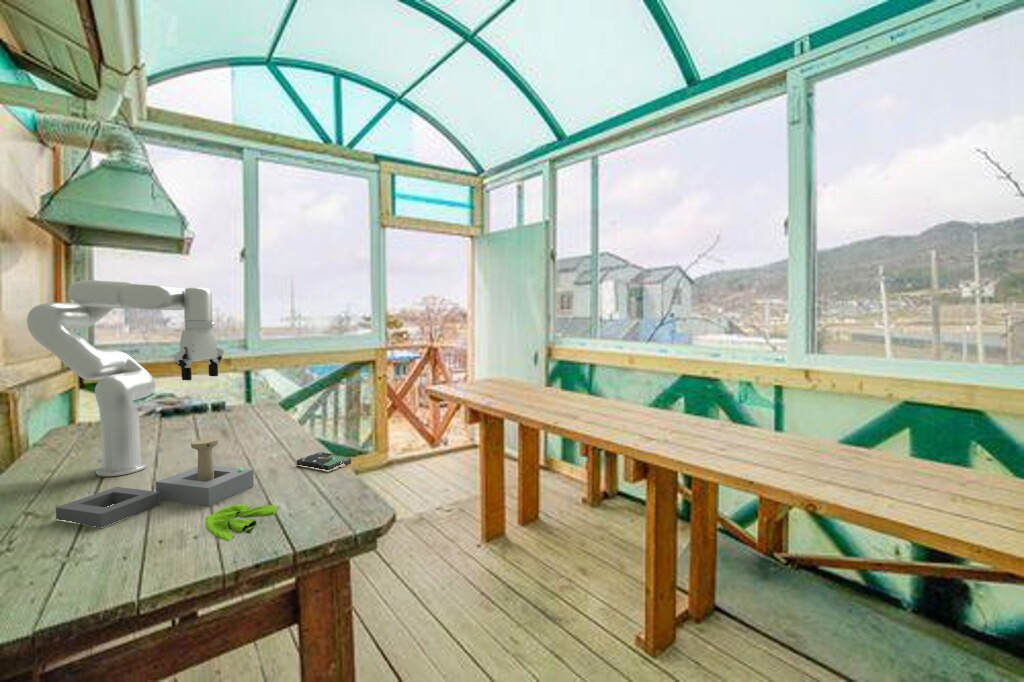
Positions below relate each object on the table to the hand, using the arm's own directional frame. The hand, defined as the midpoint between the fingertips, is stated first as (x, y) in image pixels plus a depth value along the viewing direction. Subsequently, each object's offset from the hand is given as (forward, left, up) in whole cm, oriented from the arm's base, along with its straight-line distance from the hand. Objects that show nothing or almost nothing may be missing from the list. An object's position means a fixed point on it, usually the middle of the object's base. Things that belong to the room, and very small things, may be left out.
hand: (200, 378), depth 149 cm
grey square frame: (+7, -33, -30) cm, 45 cm away
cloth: (+44, -28, -31) cm, 61 cm away
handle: (+19, -16, -31) cm, 39 cm away
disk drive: (+36, +14, -31) cm, 49 cm away
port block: (+19, -16, -30) cm, 39 cm away
